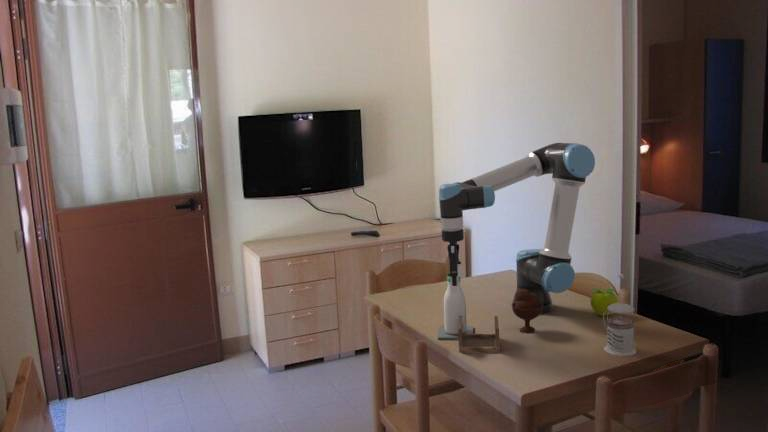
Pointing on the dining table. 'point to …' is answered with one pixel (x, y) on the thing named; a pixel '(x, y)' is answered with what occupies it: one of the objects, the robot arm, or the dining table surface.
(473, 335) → the cradle
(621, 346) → the french press
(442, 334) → the coaster
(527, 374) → the dining table surface
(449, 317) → the milk bottle
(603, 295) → the fruit
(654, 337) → the dining table surface
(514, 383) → the dining table surface
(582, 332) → the dining table surface
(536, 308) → the ice cream bowl
